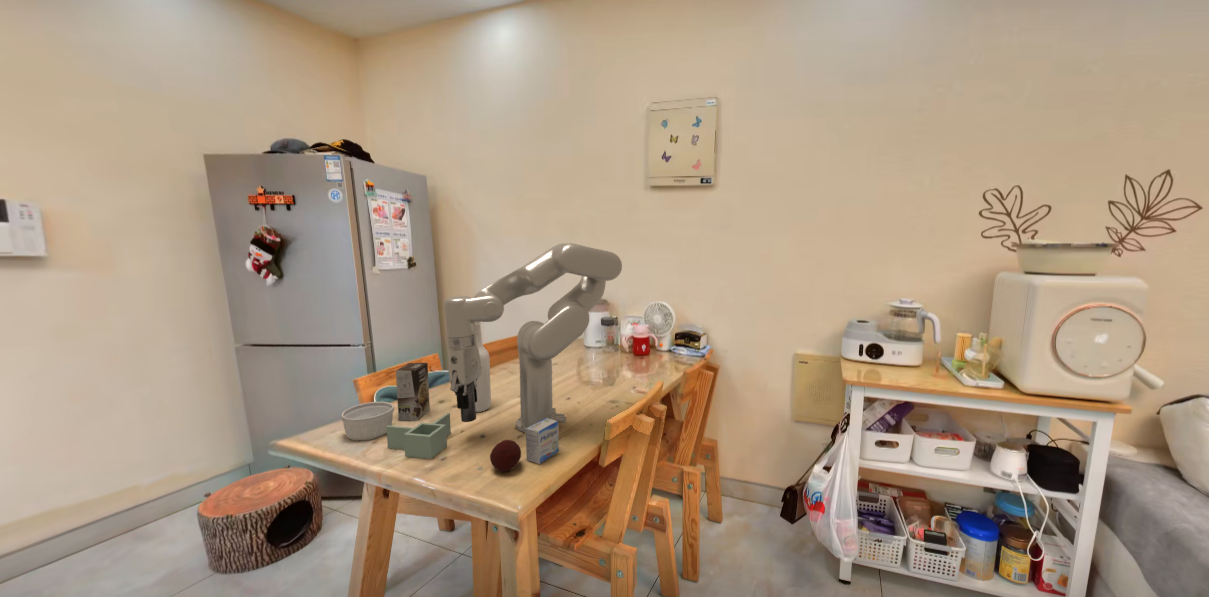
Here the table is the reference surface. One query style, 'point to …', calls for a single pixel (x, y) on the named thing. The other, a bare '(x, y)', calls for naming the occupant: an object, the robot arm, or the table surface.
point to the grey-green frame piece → (420, 438)
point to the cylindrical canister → (469, 413)
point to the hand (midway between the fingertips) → (467, 404)
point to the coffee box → (412, 391)
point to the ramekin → (367, 420)
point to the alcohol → (483, 375)
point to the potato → (505, 455)
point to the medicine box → (542, 440)
